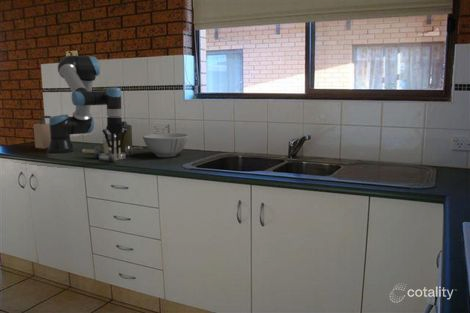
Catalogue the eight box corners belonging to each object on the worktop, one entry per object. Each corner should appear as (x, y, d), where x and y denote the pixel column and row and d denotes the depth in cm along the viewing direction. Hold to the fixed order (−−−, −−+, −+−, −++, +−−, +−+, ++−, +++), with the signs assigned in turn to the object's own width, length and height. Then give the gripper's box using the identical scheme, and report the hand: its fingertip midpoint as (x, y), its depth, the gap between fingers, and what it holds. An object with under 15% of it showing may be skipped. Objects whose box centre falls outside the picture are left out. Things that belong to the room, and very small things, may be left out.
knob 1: (107, 160, 238) (106, 150, 237) (112, 159, 240) (112, 149, 239) (119, 163, 230) (118, 152, 229) (124, 162, 233) (123, 151, 231)
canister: (128, 155, 258) (127, 122, 254) (112, 154, 260) (111, 122, 257) (136, 152, 268) (134, 120, 265) (121, 152, 270) (119, 120, 267)
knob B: (101, 156, 252) (100, 146, 251) (98, 157, 249) (97, 147, 248) (84, 156, 255) (83, 146, 254) (81, 156, 252) (80, 146, 251)
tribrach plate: (94, 158, 248) (92, 134, 246) (118, 155, 258) (116, 132, 256) (106, 161, 237) (105, 136, 235) (130, 158, 247) (129, 134, 245)
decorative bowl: (187, 158, 243) (187, 137, 241) (140, 159, 242) (139, 138, 240) (190, 151, 269) (189, 132, 267) (147, 152, 268) (146, 133, 266)
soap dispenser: (35, 147, 294) (32, 115, 290) (46, 146, 301) (43, 115, 298) (47, 148, 288) (44, 116, 284) (58, 147, 295) (55, 115, 291)
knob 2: (126, 156, 252) (126, 146, 251) (124, 155, 255) (123, 145, 254) (144, 153, 260) (143, 144, 259) (141, 153, 263) (140, 143, 262)
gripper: (101, 117, 223) (102, 161, 227) (126, 117, 225) (127, 161, 229) (102, 116, 230) (103, 159, 234) (126, 116, 233) (127, 158, 237)
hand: (115, 160), depth 232 cm, fingers closed
